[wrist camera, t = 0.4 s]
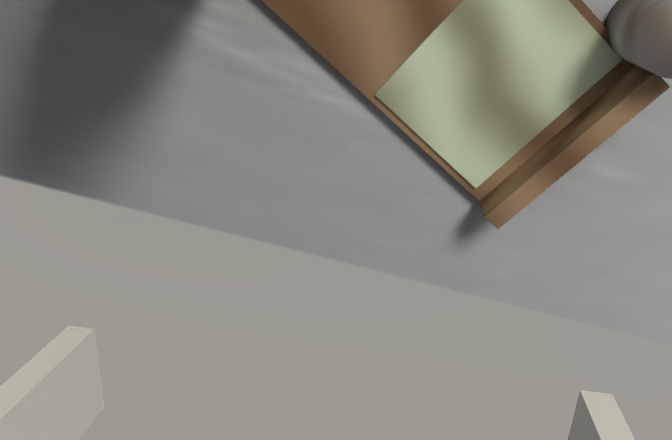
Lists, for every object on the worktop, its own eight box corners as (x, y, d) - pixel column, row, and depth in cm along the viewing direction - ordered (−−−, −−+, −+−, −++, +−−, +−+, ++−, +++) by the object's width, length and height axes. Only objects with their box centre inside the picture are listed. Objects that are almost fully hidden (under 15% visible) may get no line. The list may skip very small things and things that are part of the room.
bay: (445, -276, 26) (456, -323, 22) (701, 29, 31) (753, 42, 26) (251, -12, 32) (227, -7, 28) (490, 208, 37) (503, 244, 32)
